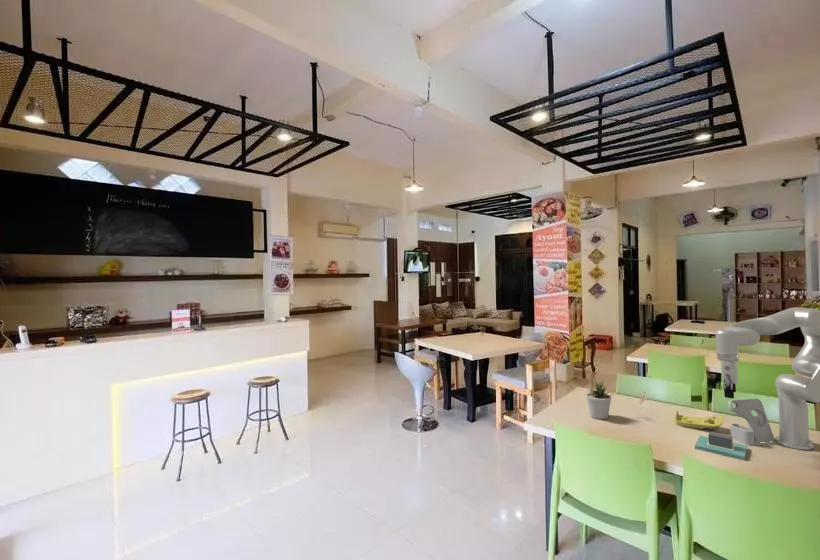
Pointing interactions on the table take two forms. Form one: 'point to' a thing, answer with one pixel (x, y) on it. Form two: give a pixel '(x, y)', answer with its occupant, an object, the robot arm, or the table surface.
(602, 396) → the potted plant
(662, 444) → the table surface
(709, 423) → the plastic component
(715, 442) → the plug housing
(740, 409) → the phone holder
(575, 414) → the table surface
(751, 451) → the table surface
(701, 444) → the board
